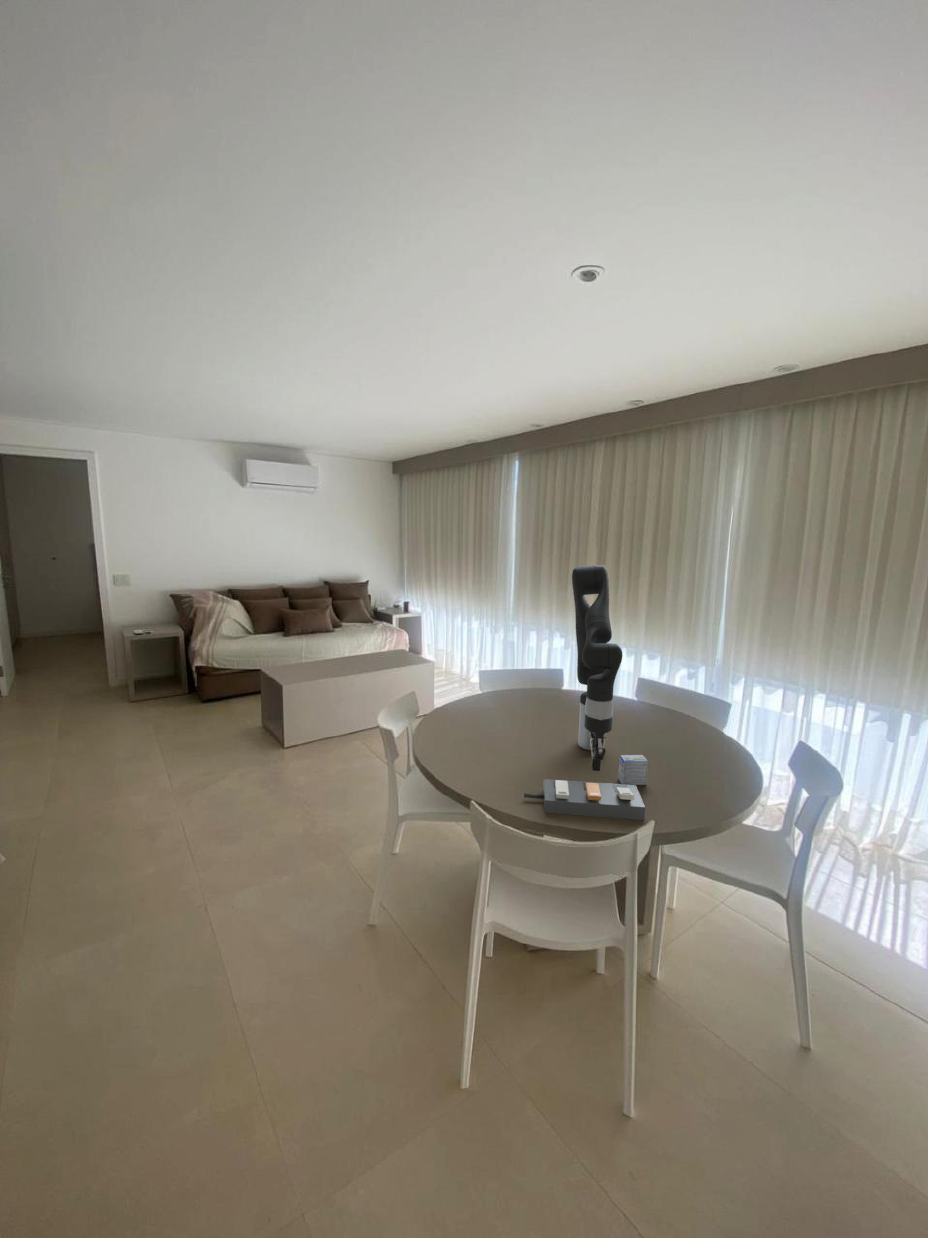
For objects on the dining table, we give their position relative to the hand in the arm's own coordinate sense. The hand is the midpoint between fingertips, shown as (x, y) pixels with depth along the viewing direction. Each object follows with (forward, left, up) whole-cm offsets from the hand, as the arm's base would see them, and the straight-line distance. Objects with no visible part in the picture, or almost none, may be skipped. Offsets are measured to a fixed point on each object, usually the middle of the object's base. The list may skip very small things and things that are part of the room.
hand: (595, 769), depth 137 cm
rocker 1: (-2, -9, -8) cm, 12 cm away
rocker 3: (-2, +9, -8) cm, 12 cm away
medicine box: (-19, +15, -14) cm, 28 cm away
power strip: (-4, -3, -13) cm, 14 cm away
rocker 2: (-2, 0, -8) cm, 8 cm away
